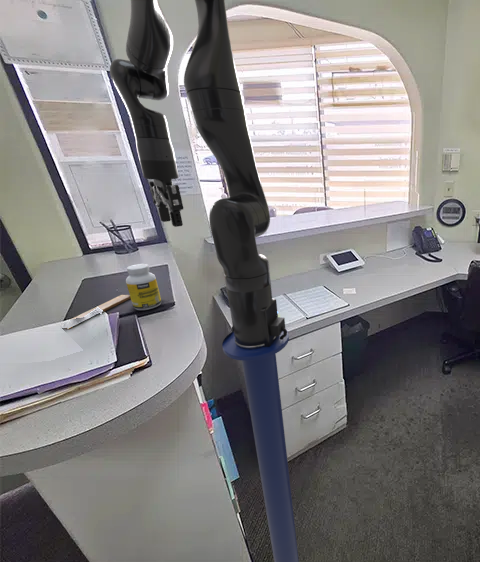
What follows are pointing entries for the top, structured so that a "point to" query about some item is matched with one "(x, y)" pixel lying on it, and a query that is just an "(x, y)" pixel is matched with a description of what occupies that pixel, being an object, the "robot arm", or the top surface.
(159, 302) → the pill bottle
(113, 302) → the ruler
